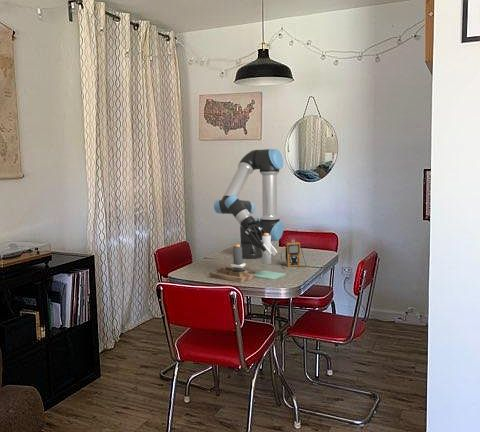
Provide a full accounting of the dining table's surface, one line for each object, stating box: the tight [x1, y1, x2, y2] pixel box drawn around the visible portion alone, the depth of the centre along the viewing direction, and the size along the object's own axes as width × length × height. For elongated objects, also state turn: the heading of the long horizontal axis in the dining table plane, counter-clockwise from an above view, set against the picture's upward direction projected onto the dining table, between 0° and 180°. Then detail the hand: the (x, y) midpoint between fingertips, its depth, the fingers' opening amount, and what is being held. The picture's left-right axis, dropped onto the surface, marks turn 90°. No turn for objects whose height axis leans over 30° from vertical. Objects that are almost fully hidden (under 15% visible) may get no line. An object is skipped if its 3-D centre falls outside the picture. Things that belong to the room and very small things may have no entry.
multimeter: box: [280, 229, 307, 270], centre depth 265 cm, size 15×10×20 cm
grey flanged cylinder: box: [229, 243, 247, 272], centre depth 244 cm, size 5×7×15 cm
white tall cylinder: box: [261, 233, 272, 265], centre depth 247 cm, size 4×4×15 cm
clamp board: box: [209, 266, 256, 283], centre depth 248 cm, size 11×20×4 cm, turn 51°
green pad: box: [254, 270, 287, 281], centre depth 250 cm, size 12×14×1 cm
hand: (272, 254), depth 245 cm, fingers closed on white tall cylinder, 4 cm apart
